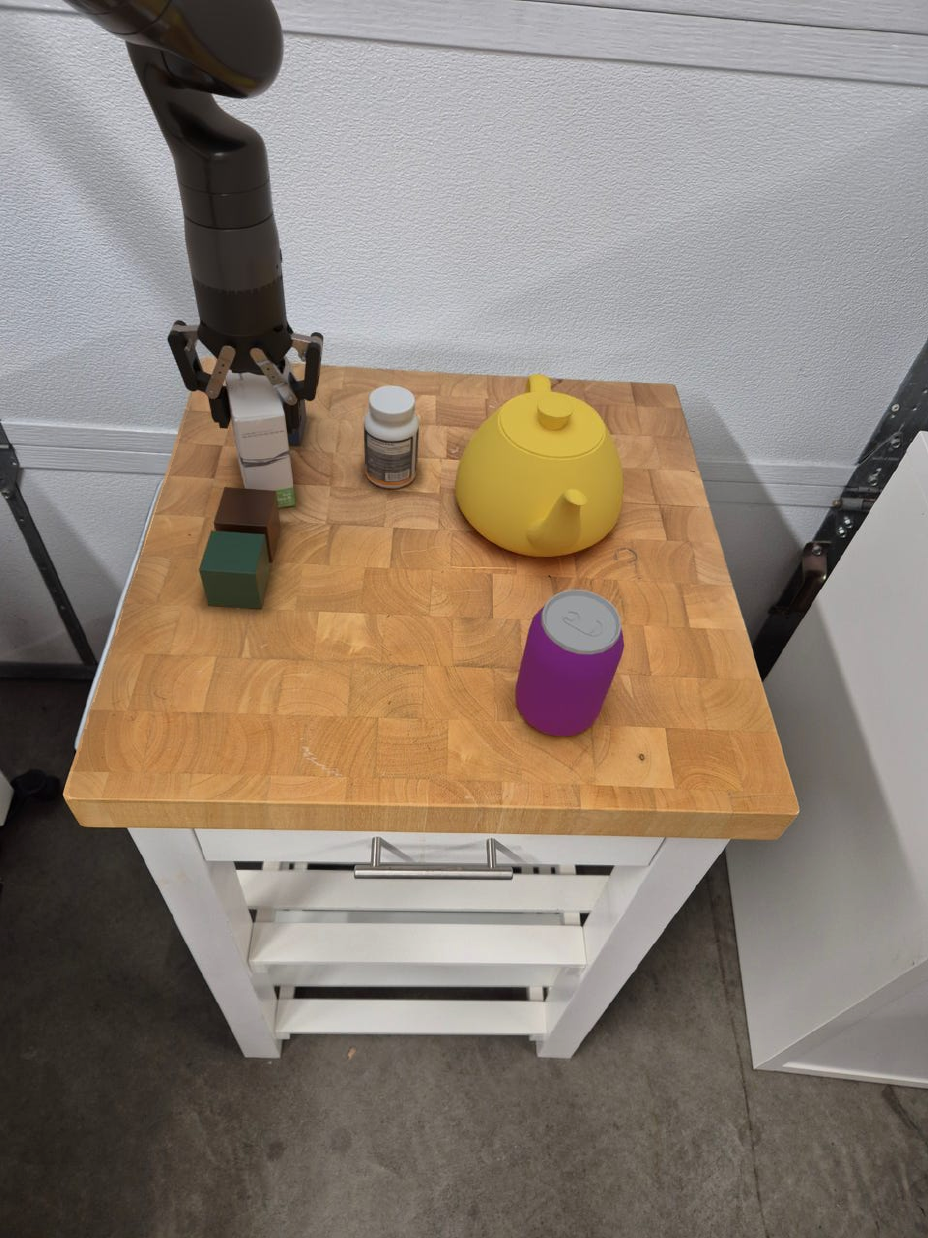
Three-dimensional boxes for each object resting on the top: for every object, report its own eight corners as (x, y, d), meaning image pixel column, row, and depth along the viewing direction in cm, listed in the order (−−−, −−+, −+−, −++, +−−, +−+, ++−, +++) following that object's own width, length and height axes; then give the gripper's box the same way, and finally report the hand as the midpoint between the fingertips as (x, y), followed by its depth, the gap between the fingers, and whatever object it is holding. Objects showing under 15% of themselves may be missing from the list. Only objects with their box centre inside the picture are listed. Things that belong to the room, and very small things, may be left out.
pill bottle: (377, 451, 92) (377, 375, 84) (424, 465, 91) (428, 390, 83) (356, 481, 89) (353, 405, 81) (404, 497, 88) (407, 422, 80)
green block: (207, 605, 76) (198, 569, 72) (219, 566, 79) (210, 530, 76) (261, 609, 76) (255, 573, 73) (270, 570, 80) (265, 533, 76)
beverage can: (498, 717, 71) (516, 632, 62) (534, 656, 76) (556, 568, 66) (579, 756, 69) (610, 674, 60) (611, 691, 74) (644, 606, 64)
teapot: (640, 604, 81) (679, 502, 70) (462, 605, 79) (475, 500, 68) (596, 442, 96) (623, 338, 86) (447, 439, 94) (455, 333, 84)
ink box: (296, 506, 85) (287, 414, 76) (249, 514, 84) (233, 420, 75) (283, 455, 90) (272, 362, 81) (237, 461, 89) (221, 367, 80)
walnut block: (221, 559, 80) (213, 522, 76) (231, 523, 83) (224, 486, 79) (272, 562, 80) (267, 526, 76) (280, 527, 83) (276, 490, 80)
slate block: (255, 442, 91) (249, 405, 88) (263, 414, 95) (258, 377, 91) (300, 445, 92) (296, 409, 88) (306, 418, 95) (303, 381, 91)
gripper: (136, 278, 66) (176, 444, 79) (315, 294, 66) (326, 456, 79) (160, 234, 71) (194, 398, 84) (327, 249, 71) (335, 409, 84)
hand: (258, 425), depth 81 cm, fingers closed on ink box, 6 cm apart
